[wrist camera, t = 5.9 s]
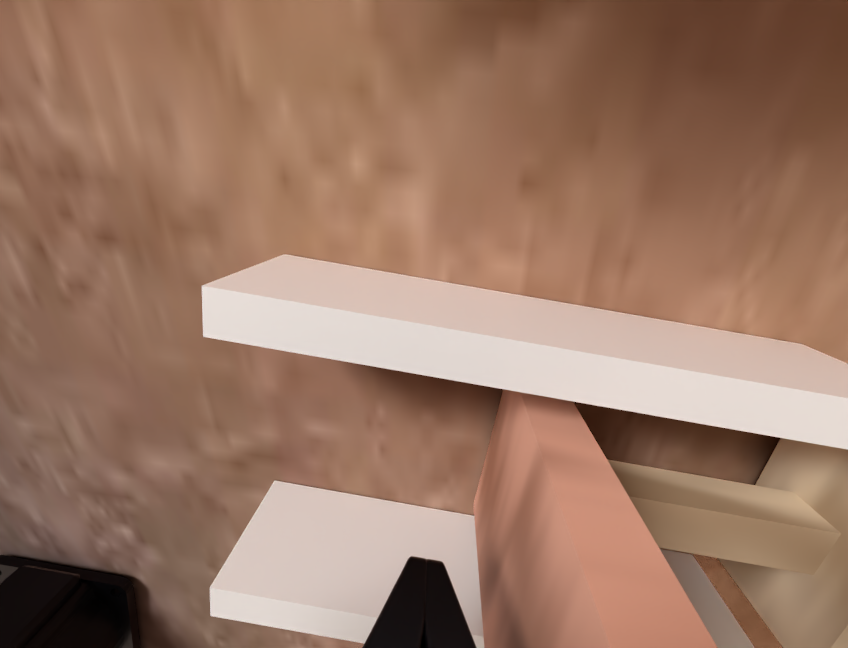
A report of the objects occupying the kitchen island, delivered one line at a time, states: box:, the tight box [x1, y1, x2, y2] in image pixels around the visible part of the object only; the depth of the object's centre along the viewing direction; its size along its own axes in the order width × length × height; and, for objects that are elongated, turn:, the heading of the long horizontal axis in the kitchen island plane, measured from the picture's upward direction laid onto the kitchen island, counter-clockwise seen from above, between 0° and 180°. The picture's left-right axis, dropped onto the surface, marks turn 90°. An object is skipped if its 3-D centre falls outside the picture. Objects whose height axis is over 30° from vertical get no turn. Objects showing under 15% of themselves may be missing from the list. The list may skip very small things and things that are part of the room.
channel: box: [202, 254, 848, 648], centre depth 12 cm, size 10×17×4 cm, turn 81°
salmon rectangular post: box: [473, 389, 848, 648], centre depth 10 cm, size 7×11×9 cm, turn 81°
